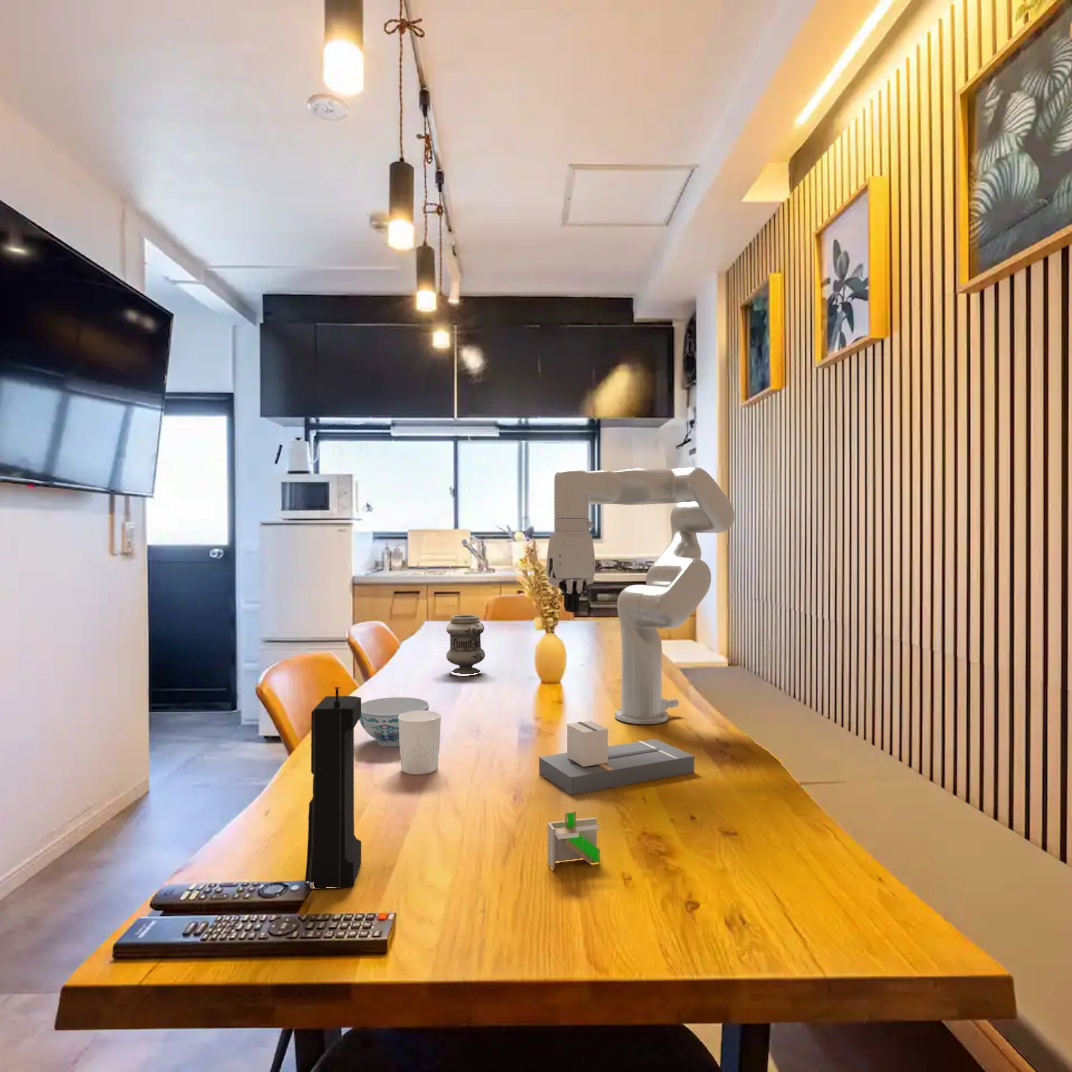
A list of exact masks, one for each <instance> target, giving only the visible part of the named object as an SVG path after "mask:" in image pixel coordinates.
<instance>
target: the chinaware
mask: <svg viewBox="0 0 1072 1072" xmlns="http://www.w3.org/2000/svg"><path fill="white" fill-rule="evenodd" d="M429 709H430V703H429V702H428V701H427V700H425V699H421V698H416V697H408V696H407V697H405V696H404V697H403V696H400V697H399V696H395V697H379V698H375V699H371V700H366V701H364V702H361V717H360V719H359V720H358V722H359V723H360V725H361V726H362V728H363V729H364V731H365V732H366V733H367V734H368V735H369V736H370V737H372V738H373V739H375V740H376V743H377V745H378V746H381V747H382V746H383V747H387V746H393V747H400V745H399V724H398V716H399V715H400V714H402V713H406V712H410V711H429Z"/></svg>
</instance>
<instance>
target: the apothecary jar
mask: <svg viewBox="0 0 1072 1072" xmlns="http://www.w3.org/2000/svg"><path fill="white" fill-rule="evenodd" d="M445 631H446V633H447V634H448V635H449V643H450V644H449V645H450V646H449V650H448V651H447V652H446V653H445V654H446V655H445V657H446V660H447V661H448V662H449V663H451V664H452V665H456V666H459V667H456V668H454V669H453V671H452V670H451V671H452V672H454V673H460V674H474V673H479V672H480V671H481V670H480V669H478V668H476V667H473V666H474V665H476V664H479V663H481V662H482V661H483V660H484V659H485V656H486V653H485V650H484V649H483V648H482V644H481V642H482V641H481V634H483V632H484V631H485V626H484V624H483V623H482V622H480V616H479V615H478V614H457V615H456V614H455V615H452V616H451V618H450V622H449V623H448V624H447V625H446V627H445Z"/></svg>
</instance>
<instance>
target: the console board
mask: <svg viewBox="0 0 1072 1072" xmlns="http://www.w3.org/2000/svg"><path fill="white" fill-rule="evenodd" d="M538 766H539V767H538V774H539V775H541V776H542V777H544V778H545V779H547V780H550V781H549V782H551V783H552V782H553V784H554V785H555V786H557V787H558V788H559V789H561V790H562V791H564V792H565V793H567V794H568V795H570V796H573V795H579V793H580V794H585V793H589V792H590V793H591V792H595V791H601V790H605V789H606V790H607V789H611V788H616V787H622V786H628V785H633V784H639V783H643V782H648V781H654V780H660V779H665V778H670V777H676V776H681V775H687V774H692V773H695V756H694V755H693V754H691V753H689V752H686V751H684V750H681V749H680V748H677V747H675V746H672V745H670V744H668V743H666V742H663V741H662V740H659V739H657V738H654V739H649V740H637V741H634V742H629V743H622V744H615V745H608V763H603V764H597V765H591V766H585V767H583V766H581V765H580V764H578V763H576V762H575V761H573V760H571V759H570V758H568V757H567V752H563V753H557V754H551V755H544V756H539V757H538Z"/></svg>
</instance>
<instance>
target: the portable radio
mask: <svg viewBox="0 0 1072 1072" xmlns="http://www.w3.org/2000/svg"><path fill="white" fill-rule="evenodd" d="M334 689H335V695H334V696H332V695H331V696H329V695H327V696H324V698H323V699H322V700H321V701H319V703H318V704H317V705H316V706H315V707H314V708H313V709H312V711H311V713H310V714H311V719H310V720H311V721H310V722H311V725H310V726H311V727H310V729H311V732H310V737H311V738H310V743H311V744H310V750H311V751H310V754H311V755H310V772H311V774H312V775H313V777H312V798H311V800H310V801H309V803H308V815H307V816H308V817H307V818H308V823H307V824H308V826H307V827H308V829H307V830H308V831H307V848H306V849H307V850H306V851H307V853H306V868H305V878H304V882H305V881H306V882H307V881H309V882H314V887H315V888H326V887H343V888H346V887H345V886H348V887H350V886H349V885H352V886H355V884H354V882H355V883H356V881H355V879H356V880H357V878H356V877H358V875H359V872H360V869H361V866H362V840H360V839H358V838H357V837H356V835H355V754H354V753H355V733H354V732H355V727H356V725H357V723H358V722H359V719H360V717H361V703H362V697H359V696H354V695H339V689H341V686H340V687H338V686H335V687H334ZM360 865H361V866H360ZM359 868H360V869H359ZM358 871H359V872H358ZM357 874H358V875H357Z"/></svg>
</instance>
